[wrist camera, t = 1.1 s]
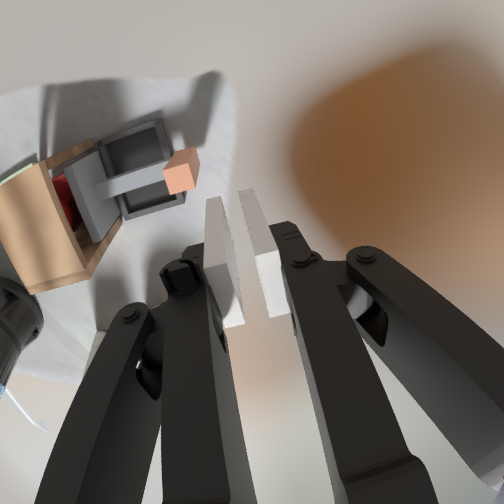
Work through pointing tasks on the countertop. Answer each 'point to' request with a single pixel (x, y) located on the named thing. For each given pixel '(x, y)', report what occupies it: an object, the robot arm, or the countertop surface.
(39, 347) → the countertop surface
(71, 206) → the canned food
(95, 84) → the countertop surface
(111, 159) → the tray
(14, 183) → the tunnel
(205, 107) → the countertop surface
